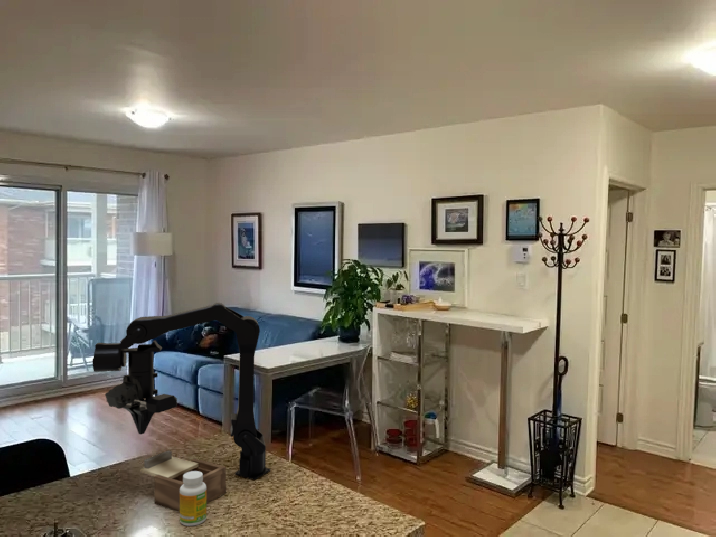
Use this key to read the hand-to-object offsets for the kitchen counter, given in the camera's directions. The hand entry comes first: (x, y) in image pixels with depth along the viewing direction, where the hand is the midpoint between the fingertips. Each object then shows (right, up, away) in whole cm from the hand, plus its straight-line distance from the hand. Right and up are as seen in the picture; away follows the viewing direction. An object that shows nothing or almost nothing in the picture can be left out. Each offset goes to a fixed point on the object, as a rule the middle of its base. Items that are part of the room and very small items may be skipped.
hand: (141, 433), depth 134 cm
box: (+14, -12, -8) cm, 20 cm away
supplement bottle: (+18, -13, -18) cm, 28 cm away
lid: (+8, -7, -4) cm, 12 cm away
